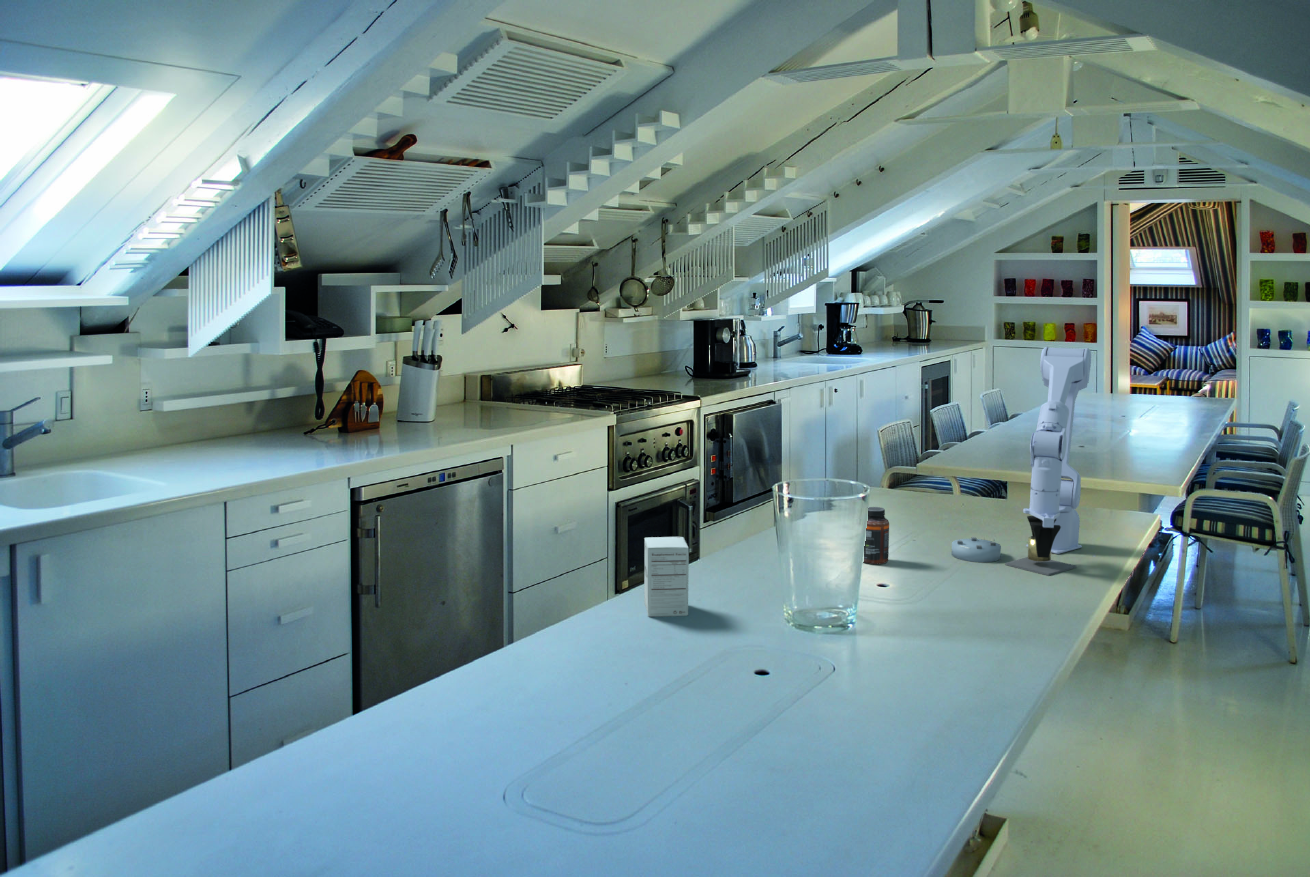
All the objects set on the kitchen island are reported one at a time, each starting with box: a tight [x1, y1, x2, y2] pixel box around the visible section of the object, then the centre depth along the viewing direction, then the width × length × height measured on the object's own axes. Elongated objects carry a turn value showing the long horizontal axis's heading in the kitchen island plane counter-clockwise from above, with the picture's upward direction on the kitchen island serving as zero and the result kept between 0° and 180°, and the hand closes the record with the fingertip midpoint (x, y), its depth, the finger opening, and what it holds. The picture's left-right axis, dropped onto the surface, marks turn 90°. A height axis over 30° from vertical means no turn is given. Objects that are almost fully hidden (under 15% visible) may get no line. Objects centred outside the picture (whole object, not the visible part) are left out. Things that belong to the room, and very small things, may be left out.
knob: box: [1027, 535, 1052, 561], centre depth 218 cm, size 4×4×5 cm
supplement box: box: [643, 536, 690, 618], centre depth 188 cm, size 7×7×13 cm
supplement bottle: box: [863, 506, 890, 565], centre depth 221 cm, size 6×6×11 cm
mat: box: [1004, 556, 1077, 577], centre depth 218 cm, size 10×10×1 cm
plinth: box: [951, 536, 1002, 563], centre depth 226 cm, size 10×10×3 cm
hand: (1041, 554), depth 218 cm, fingers closed on knob, 4 cm apart
